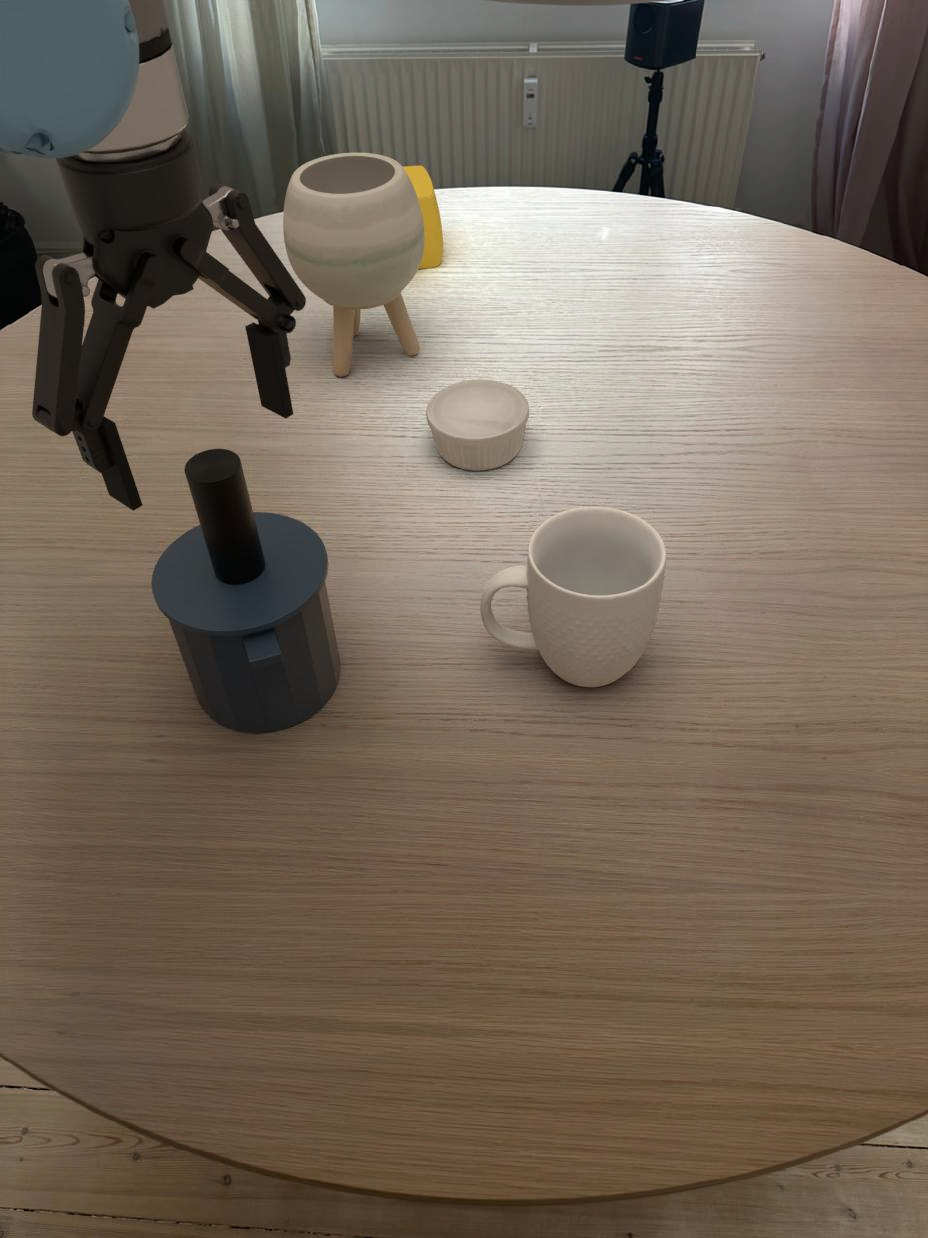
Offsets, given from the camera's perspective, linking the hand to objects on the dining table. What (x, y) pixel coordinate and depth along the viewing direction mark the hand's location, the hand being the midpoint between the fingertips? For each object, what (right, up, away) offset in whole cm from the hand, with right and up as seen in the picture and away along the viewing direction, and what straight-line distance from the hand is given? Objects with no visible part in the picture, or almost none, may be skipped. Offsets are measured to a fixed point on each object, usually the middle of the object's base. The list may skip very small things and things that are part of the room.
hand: (205, 453), depth 69 cm
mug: (+28, -15, +18) cm, 37 cm away
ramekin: (+20, +7, +40) cm, 46 cm away
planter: (+6, +22, +55) cm, 60 cm away
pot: (+1, -17, +17) cm, 24 cm away
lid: (+1, -8, +9) cm, 12 cm away
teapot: (+9, +42, +74) cm, 86 cm away
